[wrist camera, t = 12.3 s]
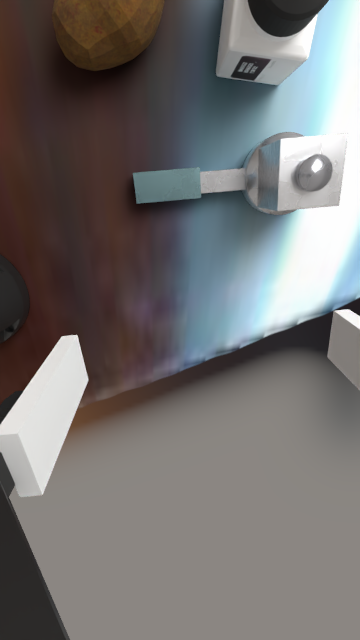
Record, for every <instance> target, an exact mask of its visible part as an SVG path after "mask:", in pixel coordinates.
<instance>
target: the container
mask: <svg viewBox="0 0 360 640" xmlns="http://www.w3.org/2000/svg"><path fill="white" fill-rule="evenodd" d="M328 1H329V0H224V7H223V15H222V24H221V32H220V40H219V49H218V57H217V66H216V75H217V76H218V77H223V78H230V79H237V80H244V81H251V82H258V83H265V84H272V85H280V84H281V83H282V82H283V81H284V80H285V79H286V78H287V77H289V76H290V75H291V74H292V73H293V72H294V71H295V70H296V69H297V68H298V67H299V66H301V65H302V64H303V63H304V62H305V61H306V60H307V59H308V56H309V52H310V48H311V43H312V38H313V34H314V29H315V24H316V20H317V15H318V12H319V11H320V10H321V9H322V8H323V7H324V6H325V4H326V3H327V2H328Z"/></svg>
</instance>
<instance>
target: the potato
mask: <svg viewBox="0 0 360 640" xmlns="http://www.w3.org/2000/svg"><path fill="white" fill-rule="evenodd" d="M164 2H165V0H55V1H54V6H53V11H52V20H53V25H54V29H55V34H56V40H57V42H58V44H59V46H60V48H61V49H62V51H63V53H64V55H65V57H66V58H67V59H68V60H69V61H71V62H72V63H73V64H74V65H76V66H77V67H78V68H83V69H87V70H92V71H99V70H104V69H110V68H113V67H116V66H119V65H122V64H124V63H126V62H128V61H130V60H132V59H134V58H135V57H136V56H138V55H139V54H140V53H141V52H142V51H143V50H145V49H146V48H147V47H148V46H149V44H150V43H151V41H152V40H153V38H154V36H155V34H156V31H157V28H158V26H159V23H160V20H161V16H162V11H163V7H164Z"/></svg>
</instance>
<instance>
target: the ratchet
mask: <svg viewBox="0 0 360 640" xmlns="http://www.w3.org/2000/svg"><path fill="white" fill-rule="evenodd" d="M299 137H305V136H303V135H301V134H298V133H294V132H283V133H279V134H276V135H273V136H271V137H269V138H267V139H265V140H263V141H262V142H260V143H259V144H257V145H256V146H255V147H254V148H253V149H252V150H251V151H250V153H249V154H248V156H247V157H246V159H245V161H244V164H243V167H242V168H241V169H229V170H218V171H206V172H200V167H197V168H185V169H173V170H162V171H150V172H139V173H133V178H134V186H135V193H136V201H137V204H138V203H149V202H161V201H172V200H184V199H195V198H201V193H212V192H224V191H235V190H242V192H243V195H244V197H245V199H246V200H247V202H248V203H249V204H250V205H251V206H252V207H253V208H255V209H256V210H258V211H260V212H264V213H268V214H273V215H284V214H288V213H291V212H293V211H295V210H297V209H294V210H283V211H275V210H269V209H264V208H258V207H257V199H258V157H259V148H262V147H264V146H266V145H268V144H271V143H273V142H275V141H278V140H280V139H287V138H299Z"/></svg>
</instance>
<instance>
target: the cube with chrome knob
mask: <svg viewBox="0 0 360 640" xmlns="http://www.w3.org/2000/svg"><path fill="white" fill-rule="evenodd" d="M347 138H348V133H345V134H333V135H322V136H310V137H299V138H287V139H280V140H278V141H275V142H273V143H271V144H268V145H266V146H264V147H262V148H259V157H258V199H257V207H258V208H264V209H269V210H275V211H283V210H294V209H305V208H316V207H328V206H339V201H340V193H341V185H342V177H343V169H344V161H345V154H346V146H347Z"/></svg>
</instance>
